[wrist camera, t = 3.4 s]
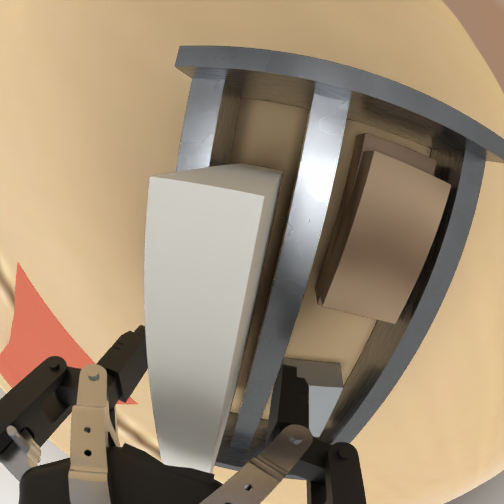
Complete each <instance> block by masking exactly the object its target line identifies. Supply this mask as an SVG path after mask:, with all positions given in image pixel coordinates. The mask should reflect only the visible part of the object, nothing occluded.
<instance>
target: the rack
mask: <svg viewBox="0 0 504 504" xmlns="http://www.w3.org/2000/svg"><path fill="white" fill-rule="evenodd" d="M175 67H176V68H178V69H179V70H181V71H182V72H183V73H185V74H186V75H188V76H189V77H191V78H192V83H191V88H190V92H189V97H188V102H187V107H186V113H185V118H184V123H183V129H182V135H181V141H180V147H179V154H178V161H177V168H176V172H178V171H184V170H190V169H197V168H204V167H212V166H220V165H228V164H229V161H230V155H231V149H232V144H233V138H234V133H235V128H236V122H237V117H238V112H239V107H240V102H241V97H242V98H250V99H257V100H264V101H270V102H276V103H282V104H287V105H292V106H297V107H302V108H307V109H309V112H308V118H307V123H306V128H305V133H304V138H303V143H302V148H301V153H300V158H299V163H298V168H297V173H296V178H295V182H294V187H293V192H292V196H291V201H290V206H289V210H288V215H287V219H286V224H285V228H284V233H283V237H282V242H281V246H280V250H279V255H278V259H277V263H276V268H275V272H274V276H273V280H272V284H271V289H270V293H269V297H268V301H267V305H266V309H265V313H264V317H263V321H262V325H261V329H260V333H259V337H258V341H257V345H256V349H255V353H254V356H253V360H252V364H251V368H250V372H249V375H248V379H247V383H246V387H245V390H244V394H243V398H242V401H241V405H240V408H239V412H238V414H235V413H231V412H229V416H228V419H227V423H226V427H225V430H224V434H223V437H222V441H221V444H220V448H219V451H218V454H217V458H216V461H215V466H219V467H223V468H227V469H232V470H236V471H239V470H240V469H241V468H242V467H243V466H245V465H246V464H247V463H248V462H249V461H250V460H251V459H252V458H254V457H257V456H258V455H259V454H260V453H261V452H262V451H263V450H264V449H265V448H266V447H267V446H265V442H266V435H267V428H268V422H269V421H268V420H263V419H261V416H262V414H263V411H264V409H265V406H266V404H267V401H268V398H269V396H270V393H271V390H272V388H273V385H274V382H275V380H276V377H277V374H278V371H279V368H280V366H281V363H282V360H283V357H284V354H285V351H286V348H287V345H288V342H289V339H290V336H291V333H292V330H293V327H294V324H295V321H296V318H297V315H298V312H299V309H300V305H301V302H302V299H303V296H304V292H305V289H306V286H307V282H308V279H309V275H310V272H311V268H312V265H313V261H314V258H315V254H316V250H317V247H318V243H319V239H320V236H321V232H322V228H323V224H324V220H325V216H326V212H327V208H328V204H329V200H330V195H331V191H332V187H333V182H334V178H335V174H336V169H337V164H338V160H339V155H340V150H341V145H342V140H343V135H344V130H345V124H346V119H351V120H354V121H357V122H361V123H364V124H367V125H370V126H373V127H376V128H379V129H382V130H385V131H388V132H391V133H394V134H397V135H399V136H402V137H405V138H407V139H410V140H412V141H415V142H417V143H420V144H422V145H424V146H427V147H429V148H431V155H430V158H431V159H433V160H436V161H437V162H436V167H435V171H434V177H436V178H439V179H441V180H443V181H445V182H446V183H448V184H450V185H451V188H450V192H449V195H448V199H447V202H446V205H445V208H444V211H443V215H442V218H441V221H440V224H439V226H438V229H437V232H436V235H435V238H434V240H433V243H432V245H431V248H430V251H429V253H428V256H427V258H426V260H425V263H424V265H423V268H422V270H421V272H420V274H419V277H418V279H417V281H416V283H415V286H414V288H413V290H412V292H411V294H410V296H409V298H408V300H407V302H406V304H405V306H404V308H403V310H402V312H401V314H400V316H399V318H398V320H397V321H396V323H395V324H394V323H389V322H385V321H381V320H378V321H377V323H376V325H375V327H374V329H373V332H372V334H371V336H370V338H369V340H368V342H367V344H366V346H365V348H364V350H363V352H362V354H361V356H360V358H359V359H358V361H357V363H356V365H355V367H354V369H353V371H352V372H351V374H350V376H349V378H348V379H347V381H346V383H345V385H344V386H343V389H342V392H341V394H340V396H339V398H338V401H337V403H336V405H335V407H334V409H333V411H332V413H331V415H330V417H329V419H328V421H327V423H326V425H325V427H324V429H323V431H322V433H321V435H320V437H315V438H316V439H318V440H320V441H322V442H325V443H327V444H330V445H333V444H335V443H337V442H347V443H350V442H351V441H352V440H353V439H354V438H355V437H356V435H357V434H358V433H359V432H360V431H361V430H362V428H363V427H364V426H365V425H366V423H367V422H368V421H369V420H370V419H371V417H372V416H373V415H374V413H375V412H376V411H377V410H378V408H379V407H380V406H381V404H382V403H383V402H384V400H385V399H386V397H387V396H388V395H389V393H390V392H391V390H392V389H393V387H394V386H395V385H396V383H397V382H398V380H399V379H400V377H401V376H402V374H403V372H404V371H405V369H406V368H407V366H408V365H409V363H410V361H411V360H412V358H413V356H414V355H415V353H416V351H417V350H418V348H419V346H420V344H421V343H422V341H423V339H424V337H425V335H426V334H427V332H428V330H429V328H430V326H431V324H432V322H433V320H434V318H435V316H436V314H437V312H438V310H439V308H440V306H441V304H442V301H443V299H444V297H445V295H446V293H447V290H448V288H449V286H450V283H451V281H452V278H453V276H454V273H455V271H456V268H457V266H458V263H459V260H460V258H461V255H462V252H463V249H464V246H465V243H466V240H467V237H468V234H469V231H470V227H471V224H472V220H473V217H474V213H475V209H476V205H477V201H478V197H479V193H480V188H481V184H482V178H483V173H484V168H485V162H486V161H492V162H500V163H504V139H503V138H501V137H500V136H498V135H497V134H496V133H494V132H493V131H491V130H490V129H488V128H486V127H485V126H483V125H482V124H480V123H478V122H477V121H475V120H474V119H472V118H470V117H468V116H467V115H465V114H463V113H461V112H460V111H458V110H456V109H454V108H452V107H450V106H449V105H447V104H445V103H443V102H441V101H439V100H437V99H435V98H432V97H430V96H428V95H426V94H424V93H422V92H419V91H417V90H415V89H412V88H410V87H408V86H405V85H403V84H400V83H398V82H395V81H392V80H390V79H387V78H384V77H381V76H379V75H376V74H373V73H370V72H366V71H363V70H360V69H357V68H353V67H350V66H346V65H343V64H339V63H335V62H331V61H327V60H322V59H318V58H313V57H308V56H303V55H298V54H292V53H286V52H280V51H272V50H264V49H255V48H244V47H230V46H180V48H179V51H178V55H177V59H176V63H175ZM284 478H288V479H299V480H307V479H304V478H301V477H299V476H296V475H294V474H291V473H288V474H287V475H286V476H285V477H284Z"/></svg>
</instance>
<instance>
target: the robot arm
mask: <svg viewBox="0 0 504 504" xmlns="http://www.w3.org/2000/svg"><path fill="white" fill-rule="evenodd" d="M147 369H148V362H147V349H146V333H145V326H143V325H140V326H139V327H138V328H137V329H136V330H135V332H131V331H129V332H127V333H125V334H123V335H121V336H120V338H119V339H118V340H117V341H116V342H115V343H114V344H113V345H112V347H111V348H110V349H109V350H108V351H107V352H106V354H105V355H104V356H103V357H102V358H101V359H100V361H99V362H98V363H97V364H90V365H87V366H85V367H83V368H82V369H79V368H74V367H70V366H67V364H66V361H65V360H64V359H63V358H62V357H59V356H51V357H48V358H47V359H45V360H44V361H43V362H42V363H41V364H40V365H38V366H37V367H36V368H35V369H34V370H33V371H32V372H30V373H29V374H28V375H27V376H26V377H25V378H24V379H22V380H21V381H20V382H19V383H18V384H17V385H16V386H15V387H13V388H12V389H11V390H10V391H9V392H8V393H7V394H6V395H5V396H4V397H3V398H1V400H0V462H1V463H3V465H4V466H5V467H6V468H7V469H8V470H9V471H10V472H11V473H12V474H13V475H14V476H15V478H16V479H18V480H19V482H20V497H19V504H260V503H261V502H262V501H263V500H264V499H265V498H266V497H267V496H268V495H269V494H270V493H271V492H272V490H273V489H274V488H275V487H276V486H277V485H278V484H279V483H280V482H281V481H282V479H283V478H284V477H285V476H286V475H287V474H288V473H291V474H294V475H296V476H299V477H301V478H304V479H307V504H366V498H365V492H364V485H363V479H362V474H361V468H360V462H359V457H358V452H357V450H356V448H355V447H354V446H353V445H351V444H349V443H347V442H337V443H335V444H333V445H330V444H327V443H325V442H322V441H320V440H318V439H316V438H315V437H314V436H313V435H312V433H311V432H310V429H309V385H308V383H307V382H306V380H305V378H300V377H297V367H296V366H291V365H286V364H282V365H281V368H280V371H279V374H278V376H277V379H276V382H275V385H274V388H273V393H272V400H271V407H270V415H269V422H268V428H267V435H266V442H265V446H267V447H266V448H265V449H264V450H263V451H262V452H261V453H260V454H259V455H258V456H257V457H254V458H252V459H251V460H250V461H249V462H248V463H247V464H246V465H245V466H243V467H242V468H241V469H240V470H239V471H238V472H237V473H236V474H235V475H233V476H232V477H231V478H230V479H229V480H228V481H227V482H225V483H224V484H222V483H220V482H218V481H216V480H214V475H215V474H211V473H207V472H204V471H200V470H196V469H193V468H186V467H177V466H169V465H165V464H163V463H162V462H160V461H158V460H157V459H155V458H154V457H152V456H151V455H149V454H148V453H146V452H145V451H142V450H140V449H137V448H135V447H133V446H131V445H128V444H126V443H124V445H123V447H120V443H119V439H118V431H117V416H116V403H117V402H118V400H120V401H122V402H124V403H126V401H127V400H128V398H129V397H130V395H131V394H132V392H133V391H134V389H135V387H136V386H137V384H138V383H139V381H140V380H141V378H142V377H143V375H144V374H145V372H146V370H147ZM71 412H72V417H71V441H70V458H67V459H63V460H59V461H55V462H52V463H48V464H44V465H40V466H37V463H39V462H40V456H41V450H40V447H41V446H42V445H43V444H44V443H45V441H46V440H47V439H48V438H49V437H50V436H51V435H52V433H53V432H54V431H55V430H56V429H57V428H58V427H59V426H60V424H61V423H62V422H63V421H64V420H65V419H66V418H67V417H68V415H69V414H70V413H71Z"/></svg>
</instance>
